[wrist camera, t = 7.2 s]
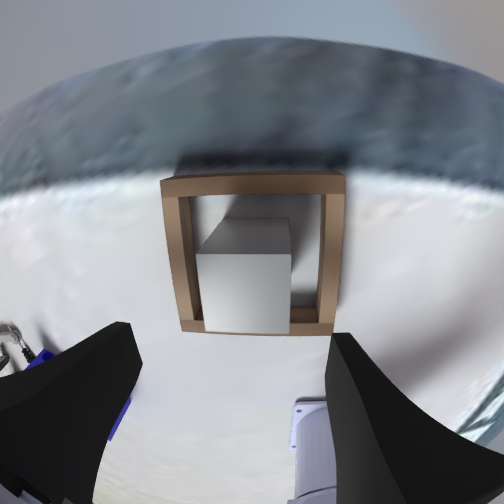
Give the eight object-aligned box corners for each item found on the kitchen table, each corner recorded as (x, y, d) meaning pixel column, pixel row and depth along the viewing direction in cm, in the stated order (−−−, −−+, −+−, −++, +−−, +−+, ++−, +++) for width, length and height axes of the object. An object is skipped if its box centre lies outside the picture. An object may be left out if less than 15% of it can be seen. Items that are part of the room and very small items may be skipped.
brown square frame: (328, 318, 19) (332, 335, 17) (190, 315, 20) (182, 331, 18) (338, 172, 16) (345, 175, 14) (172, 176, 17) (159, 180, 15)
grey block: (287, 278, 19) (289, 333, 13) (227, 277, 19) (205, 331, 13) (288, 218, 17) (291, 254, 12) (223, 218, 18) (195, 253, 12)
